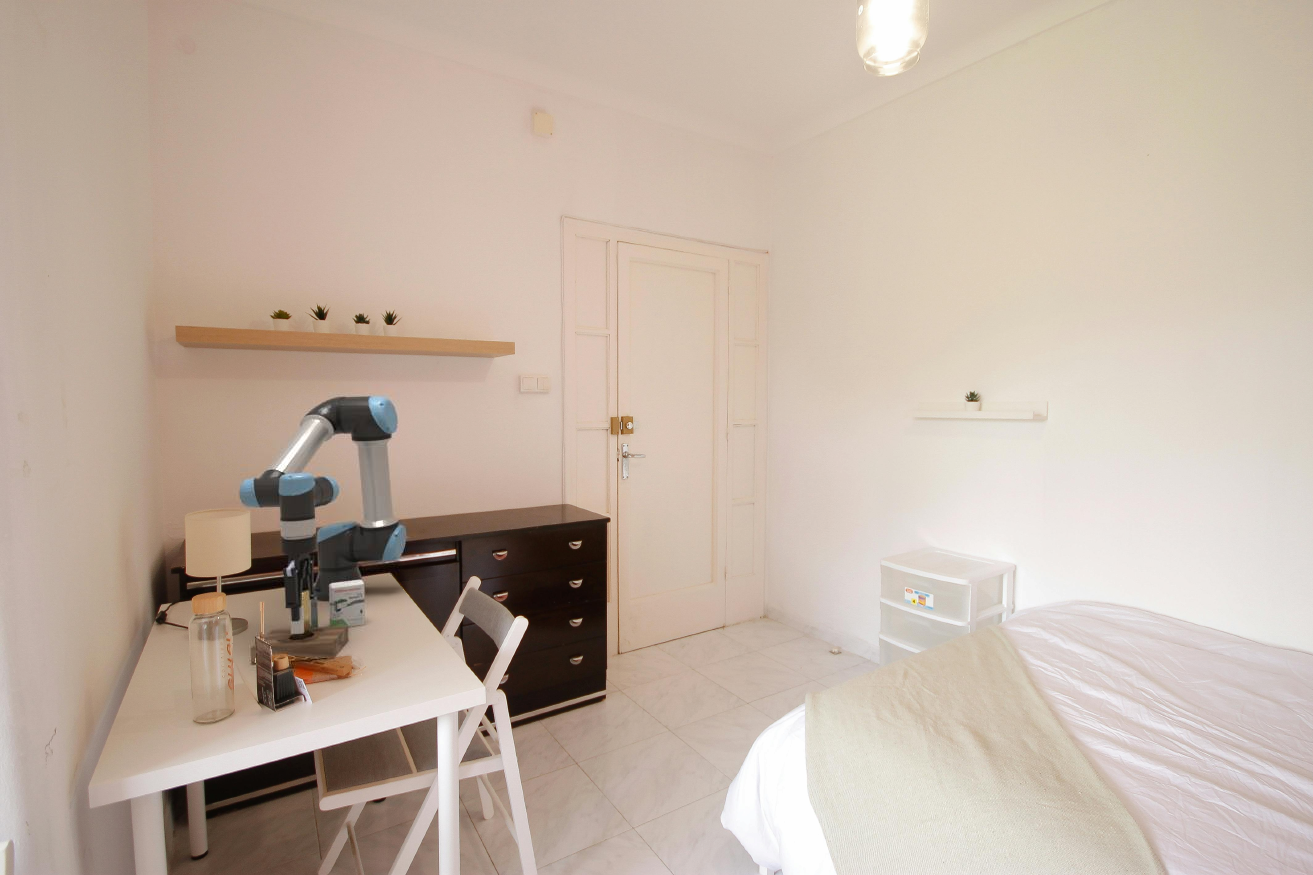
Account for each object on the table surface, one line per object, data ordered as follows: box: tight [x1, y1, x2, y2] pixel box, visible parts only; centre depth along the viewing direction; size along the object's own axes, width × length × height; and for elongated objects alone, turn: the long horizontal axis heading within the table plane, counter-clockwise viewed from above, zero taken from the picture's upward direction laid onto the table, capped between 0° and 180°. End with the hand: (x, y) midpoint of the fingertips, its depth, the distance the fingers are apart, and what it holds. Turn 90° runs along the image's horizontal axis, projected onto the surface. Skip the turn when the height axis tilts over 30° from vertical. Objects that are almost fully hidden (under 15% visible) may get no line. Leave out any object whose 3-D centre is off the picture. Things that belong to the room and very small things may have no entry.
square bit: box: [310, 597, 319, 628], centre depth 165 cm, size 4×4×10 cm
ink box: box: [329, 580, 366, 628], centre depth 174 cm, size 9×5×12 cm, turn 124°
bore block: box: [250, 625, 350, 665], centre depth 154 cm, size 12×18×4 cm, turn 100°
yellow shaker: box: [292, 589, 311, 640], centre depth 154 cm, size 4×4×12 cm
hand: (301, 629), depth 154 cm, fingers closed on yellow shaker, 4 cm apart
